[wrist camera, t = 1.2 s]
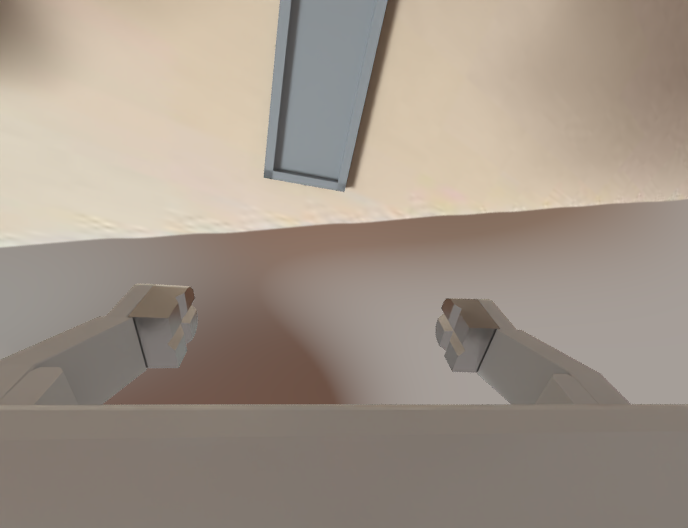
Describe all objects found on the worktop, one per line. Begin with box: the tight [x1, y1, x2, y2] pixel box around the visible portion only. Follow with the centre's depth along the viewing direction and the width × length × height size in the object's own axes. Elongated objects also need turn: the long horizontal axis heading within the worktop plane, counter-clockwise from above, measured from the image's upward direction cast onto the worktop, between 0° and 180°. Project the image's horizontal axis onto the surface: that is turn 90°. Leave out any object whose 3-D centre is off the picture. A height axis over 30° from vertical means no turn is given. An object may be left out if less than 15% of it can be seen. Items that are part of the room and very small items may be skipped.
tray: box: [264, 0, 388, 192], centre depth 33 cm, size 10×24×2 cm, turn 167°
